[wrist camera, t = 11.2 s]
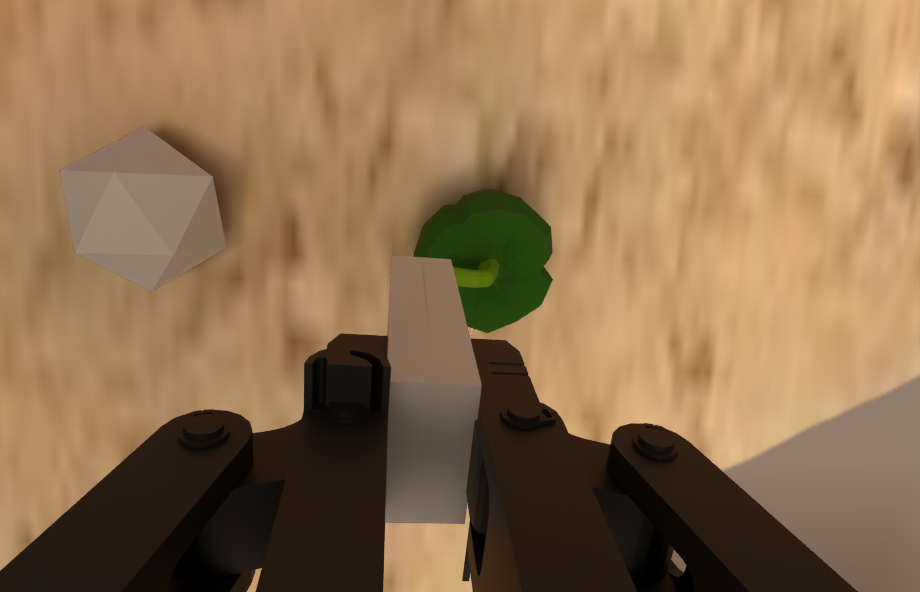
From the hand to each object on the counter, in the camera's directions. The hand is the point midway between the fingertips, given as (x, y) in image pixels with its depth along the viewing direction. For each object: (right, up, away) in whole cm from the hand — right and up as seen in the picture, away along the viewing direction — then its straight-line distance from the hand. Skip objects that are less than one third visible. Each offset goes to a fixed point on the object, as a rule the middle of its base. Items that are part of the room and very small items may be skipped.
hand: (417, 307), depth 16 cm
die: (-18, +7, +24) cm, 31 cm away
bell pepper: (+2, +5, +27) cm, 28 cm away
